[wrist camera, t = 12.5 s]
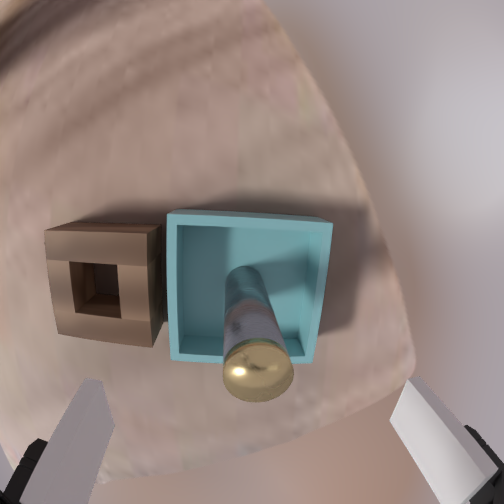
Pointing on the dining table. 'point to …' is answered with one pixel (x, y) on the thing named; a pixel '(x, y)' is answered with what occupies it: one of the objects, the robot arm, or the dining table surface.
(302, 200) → the dining table surface
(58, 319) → the block
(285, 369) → the steel pin
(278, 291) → the pin tray
